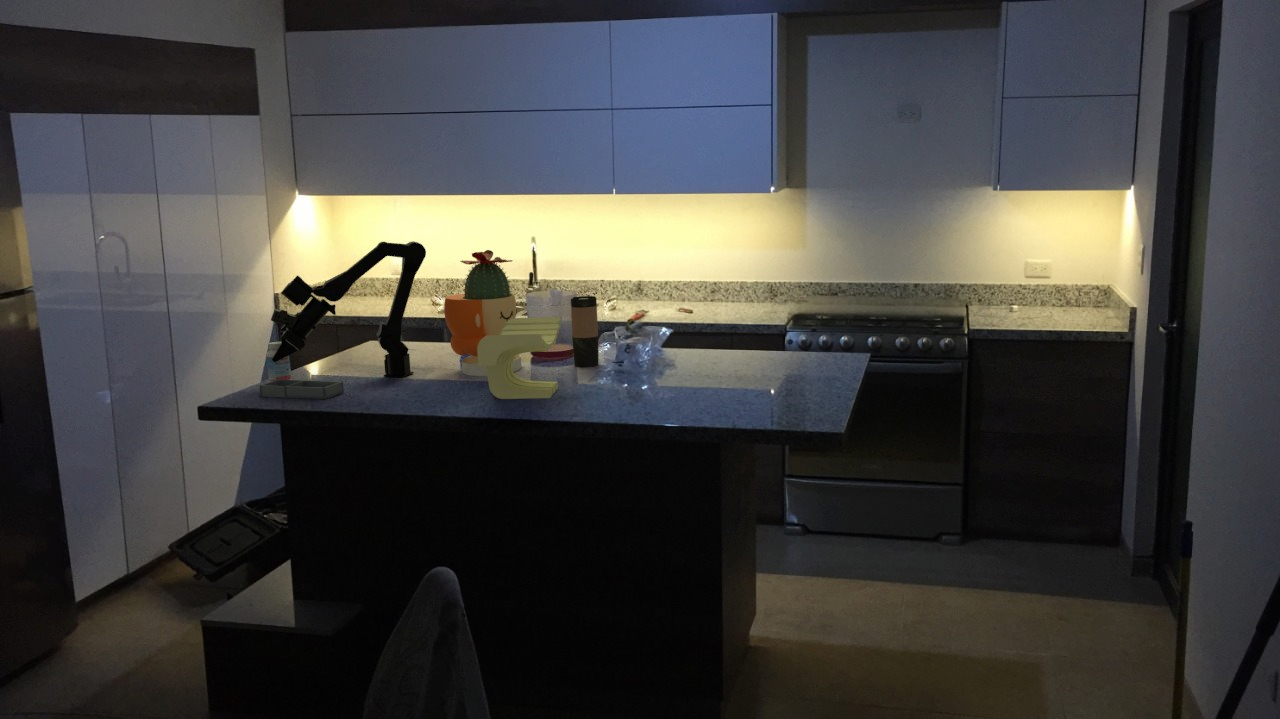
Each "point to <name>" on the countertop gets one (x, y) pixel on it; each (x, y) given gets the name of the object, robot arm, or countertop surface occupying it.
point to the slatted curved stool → (513, 341)
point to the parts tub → (301, 389)
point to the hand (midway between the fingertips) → (273, 359)
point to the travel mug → (584, 331)
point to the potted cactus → (480, 310)
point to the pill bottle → (277, 364)
